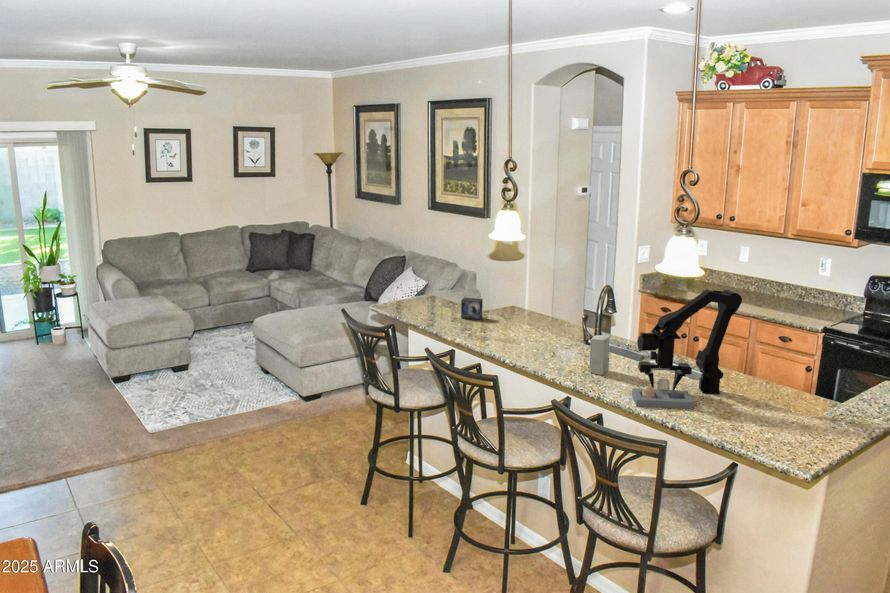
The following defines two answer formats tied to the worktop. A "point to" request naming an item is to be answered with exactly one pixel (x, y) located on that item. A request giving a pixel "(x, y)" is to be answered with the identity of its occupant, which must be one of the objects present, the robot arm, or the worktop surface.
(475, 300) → the small box
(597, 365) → the skincare box
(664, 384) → the egg
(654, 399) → the egg carton
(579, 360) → the worktop surface
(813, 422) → the worktop surface
